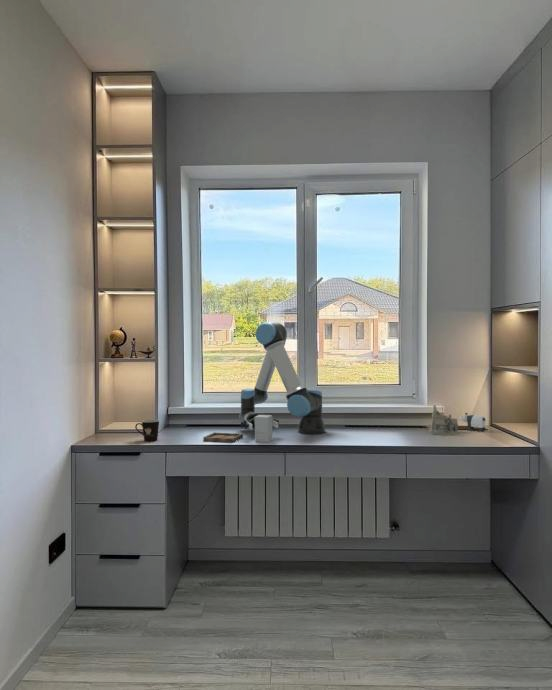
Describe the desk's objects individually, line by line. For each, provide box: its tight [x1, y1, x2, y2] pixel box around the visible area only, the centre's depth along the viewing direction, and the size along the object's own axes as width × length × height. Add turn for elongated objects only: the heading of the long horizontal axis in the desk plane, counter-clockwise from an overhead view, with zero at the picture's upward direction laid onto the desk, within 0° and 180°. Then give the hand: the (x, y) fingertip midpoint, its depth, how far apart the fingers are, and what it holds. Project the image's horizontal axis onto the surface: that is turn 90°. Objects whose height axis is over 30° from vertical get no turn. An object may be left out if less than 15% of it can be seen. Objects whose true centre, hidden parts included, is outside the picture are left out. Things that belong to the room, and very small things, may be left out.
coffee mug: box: [135, 419, 160, 443], centre depth 269 cm, size 12×9×10 cm
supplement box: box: [254, 414, 274, 443], centre depth 267 cm, size 7×7×13 cm
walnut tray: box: [203, 431, 244, 443], centre depth 270 cm, size 16×14×2 cm
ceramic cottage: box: [427, 404, 459, 436], centre depth 287 cm, size 16×16×15 cm
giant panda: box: [459, 412, 487, 433], centre depth 294 cm, size 15×6×10 cm, turn 47°
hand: (264, 426), depth 264 cm, fingers open, 13 cm apart
